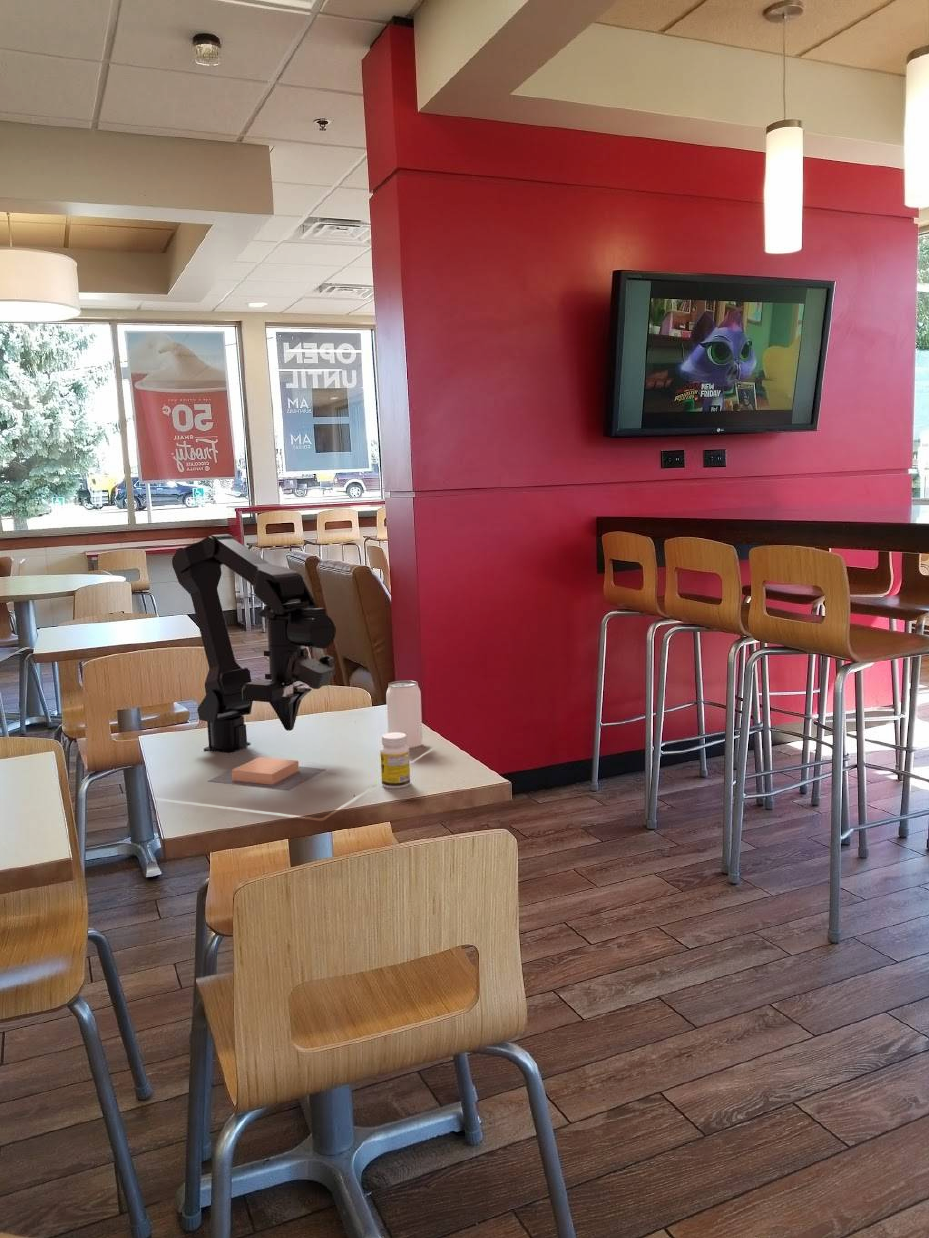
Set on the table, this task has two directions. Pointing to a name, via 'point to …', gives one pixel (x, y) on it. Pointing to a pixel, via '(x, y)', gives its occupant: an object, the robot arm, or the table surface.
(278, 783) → the mat
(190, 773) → the table surface
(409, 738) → the can
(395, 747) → the supplement bottle
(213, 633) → the robot arm
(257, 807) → the table surface
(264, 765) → the tile
